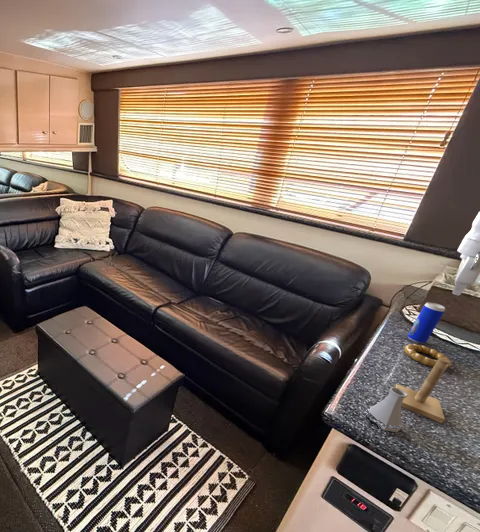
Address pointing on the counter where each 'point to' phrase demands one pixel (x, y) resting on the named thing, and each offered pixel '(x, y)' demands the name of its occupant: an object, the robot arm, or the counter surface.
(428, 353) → the ring
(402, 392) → the flask
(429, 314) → the beverage can
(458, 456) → the counter surface
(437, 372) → the stand
